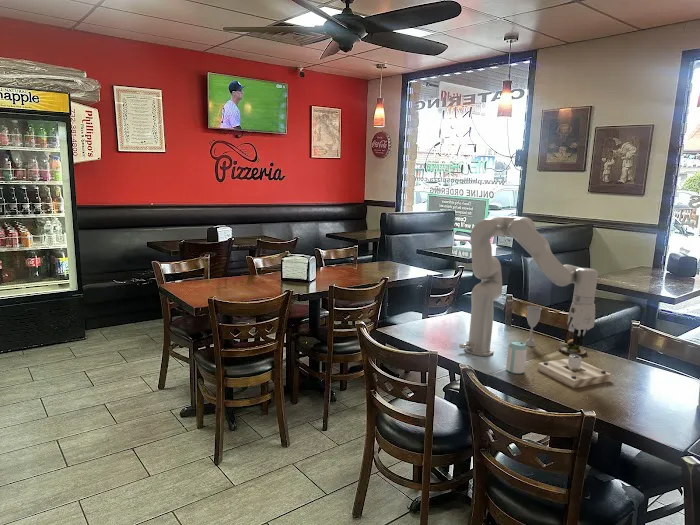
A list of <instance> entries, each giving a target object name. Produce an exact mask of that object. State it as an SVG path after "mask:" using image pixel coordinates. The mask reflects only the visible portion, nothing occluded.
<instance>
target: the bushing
mask: <svg viewBox="0 0 700 525" xmlns="http://www.w3.org/2000/svg"><path fill="white" fill-rule="evenodd" d="M568 358H569V360H568V367H567V369H568V370H570V371H572V372H580V367H581V361H582V360H583V359H582V356H581V355H574V354H569V355H568Z"/></svg>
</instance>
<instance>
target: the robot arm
mask: <svg viewBox="0 0 700 525" xmlns="http://www.w3.org/2000/svg"><path fill="white" fill-rule="evenodd" d="M498 236H503V237H512V238H513V239H514V240H515V241H516V242H517V243H518V244H519V245H520V246H521V248H523V249H524V250H525V251H526V252H527V254H529V255H530V257H531V258H532V259H533V261H534V263H535V265H537V267H538V268H539V270H540V271H541V272H542V273H543V274H544V275H545V276H546V277H547V278H548V279H549V280H550V281H551V283H553V284H555V285H556V286H558V287H567V286H568V285H570V284H574V287H573V288H574V289H573V296H572V302H571V305H570V308H569V312H568V316H567V326H568V330H567V331H569V332H571V333H572V335H573V344H575V345H578V346H579V347H581V346H583V343H584V336H585V334H586V332H587V331H589V330H590V329H592V328H594V327H595V323H596V322H595V320H596V304H595V298H596V291H597V286H598V285H597V283H598V275H599V273H598V271H597V269H594V268H591V267H590V268H589V267H580V266H576V265H573V264H562V263H561V262H560V261H559V259H557V258H556V256H555V255H554V253H553V252H552V250H551V246H550V243H549V241H548V240H547V239H546V238H545V237H544V236H543V235H542V234H541V233H540V232H539V231H538V230H537V229H536V226H535V223H534V221H533V220H532V219H531V218H530V217H525V216H490V217H485V218H482V219H481V220H479V221H478V222H477V223H476V224H475V225H474V226H473V227H472V229H471V231H470V246H471V262H472V263H471V264H472V267H471V268H472V273H473V276H475V278H477V279H479V280H481V281H480V282H479V283H477V284H475V285H474V287H473V288H472V290H471V297H470V298H471V301H470V302H471V310H470V322H469V323H470V324H469V332H468V334H469V335H468V339H467V340H466V342H465V343H460V344H458V345H459V349H463V350H464V351H465V352H466V353H468V354H471V355H474V356H479V357H480V356H481V357H488V356H491V355H493V354H494V349H493V348H492V347H491V344H492V343H491V342H492V332H493V324H494V323H493V322H494V314H495V313H494V310H495V309H494V308H495V307H494V301H495V300H497V299H499V298H500V297H501V295H502V294H503V277H502V276H503V275H502V265H501V262H500V261H499V259H498V258H497V257H496V256H494V255H493V252H492V249H493V248H492V244H491V239H492V238H494V237H498Z"/></svg>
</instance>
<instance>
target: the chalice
mask: <svg viewBox="0 0 700 525" xmlns="http://www.w3.org/2000/svg"><path fill="white" fill-rule="evenodd" d="M526 309H527V311H526V319H527V320H526V321H527V324H528V326H529V327H530V330H529V335H528V336H529V338H527V339H526V340H525V341H524V343H525V344H526V347H527V346H528V347H536V346H537V345H536V342H535V340H534V339H533V335H534V334H533V332H534V328H535V327H536V326H537V325H538V323H539V321H540V319H541V311H542V309H543V308H542V307H540V306H537V305H527V306H526Z"/></svg>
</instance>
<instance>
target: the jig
mask: <svg viewBox="0 0 700 525" xmlns="http://www.w3.org/2000/svg"><path fill="white" fill-rule="evenodd" d="M568 360H569V357H567V358H563V359H557V360H556V359H555V360H548V361H544V362H538V364H537V368H536V370H537V371H539V372H540V373H542V374H545V375H547V376H548V377H550V378H553V379H554V380H557V382H560V383H562V384H564V385H566V386H568V387H570V388H572V389H576V388H581V387H587V386H592V385H598V384H602V383H608V382H611V379H612V373H610V372H607V371H606V370H603V369H601V368H598V367H595V366H593V365H591V364H589V363H587V362H585V361H583V360H581V367H580V372H572V371H570V370H568V369H567V367H568Z"/></svg>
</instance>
